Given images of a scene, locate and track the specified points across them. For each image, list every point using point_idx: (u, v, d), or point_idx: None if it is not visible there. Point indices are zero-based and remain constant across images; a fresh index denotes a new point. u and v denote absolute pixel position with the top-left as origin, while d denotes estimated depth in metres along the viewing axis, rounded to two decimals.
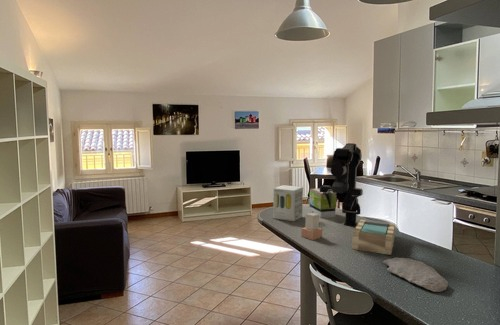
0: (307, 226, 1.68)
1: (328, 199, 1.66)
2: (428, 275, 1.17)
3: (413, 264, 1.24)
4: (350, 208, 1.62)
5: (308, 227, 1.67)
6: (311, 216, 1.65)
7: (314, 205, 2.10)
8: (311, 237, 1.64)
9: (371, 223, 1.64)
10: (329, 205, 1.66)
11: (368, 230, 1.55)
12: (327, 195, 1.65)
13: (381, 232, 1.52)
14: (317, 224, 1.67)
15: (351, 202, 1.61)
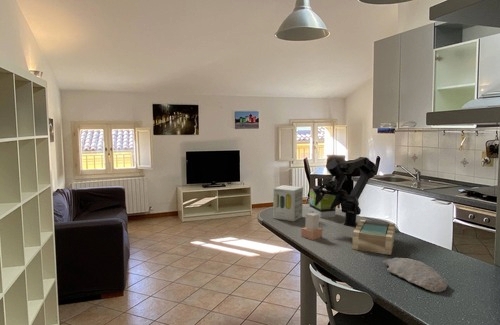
0: (307, 226, 1.68)
1: (316, 197, 1.77)
2: (427, 275, 1.17)
3: (413, 264, 1.24)
4: (331, 206, 1.69)
5: (308, 227, 1.67)
6: (311, 216, 1.65)
7: (314, 205, 2.10)
8: (311, 237, 1.64)
9: (371, 223, 1.64)
10: (315, 202, 1.76)
11: (368, 230, 1.55)
12: (317, 192, 1.78)
13: (381, 232, 1.52)
14: (317, 224, 1.67)
15: (334, 201, 1.70)
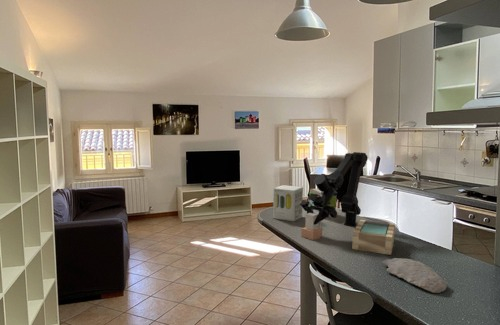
0: (307, 226, 1.68)
1: (307, 213, 1.70)
2: (427, 275, 1.16)
3: (412, 265, 1.23)
4: (314, 222, 1.65)
5: (308, 227, 1.67)
6: (311, 216, 1.65)
7: None
8: (311, 237, 1.64)
9: (371, 223, 1.64)
10: None
11: (368, 230, 1.55)
12: (308, 209, 1.71)
13: (381, 232, 1.52)
14: (317, 224, 1.67)
15: (317, 216, 1.66)
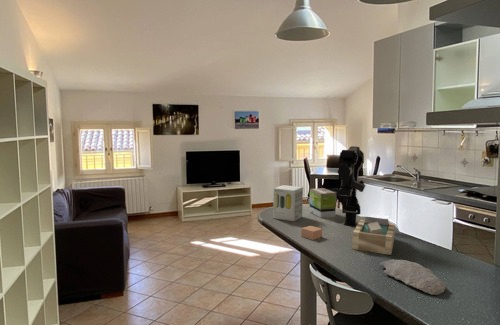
0: None
1: (347, 200, 1.70)
2: (425, 277, 1.15)
3: (410, 266, 1.22)
4: (349, 203, 1.80)
5: None
6: (379, 229, 1.52)
7: (314, 205, 2.10)
8: (311, 237, 1.64)
9: None
10: (346, 206, 1.71)
11: None
12: (349, 197, 1.69)
13: None
14: None
15: (350, 197, 1.79)
